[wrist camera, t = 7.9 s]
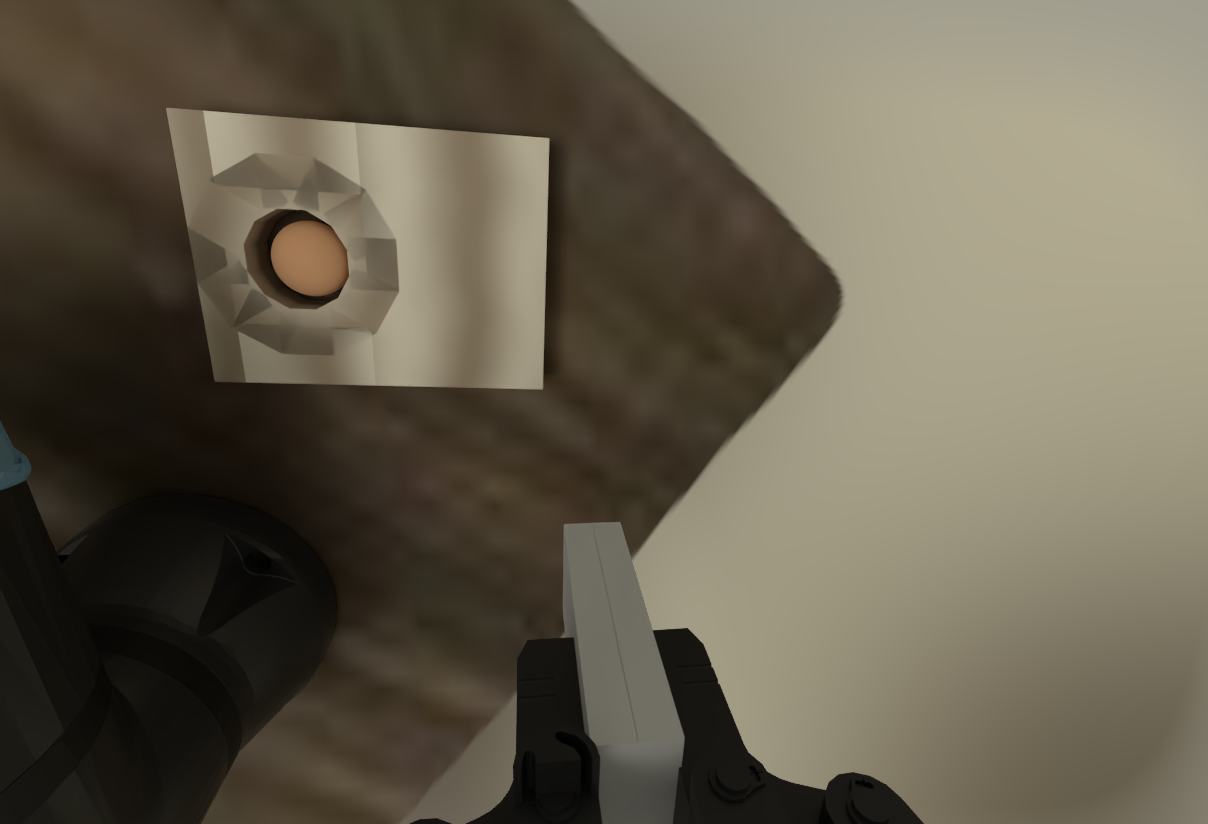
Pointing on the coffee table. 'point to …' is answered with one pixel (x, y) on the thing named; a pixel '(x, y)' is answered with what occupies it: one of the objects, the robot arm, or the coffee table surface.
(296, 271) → the ball
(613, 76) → the coffee table surface
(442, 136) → the block
